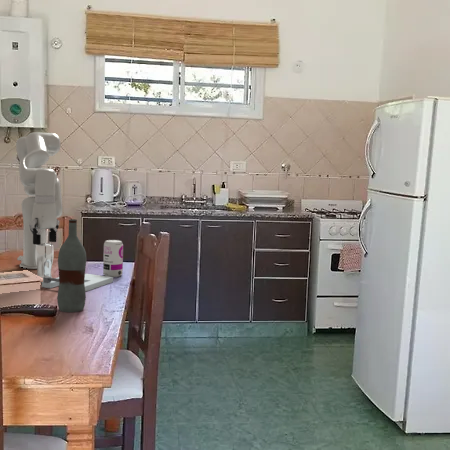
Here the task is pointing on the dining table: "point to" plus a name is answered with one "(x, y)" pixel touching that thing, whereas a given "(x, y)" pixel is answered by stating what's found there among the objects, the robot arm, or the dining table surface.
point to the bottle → (71, 272)
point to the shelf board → (89, 281)
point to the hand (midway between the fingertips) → (44, 243)
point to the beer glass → (44, 259)
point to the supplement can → (113, 258)
